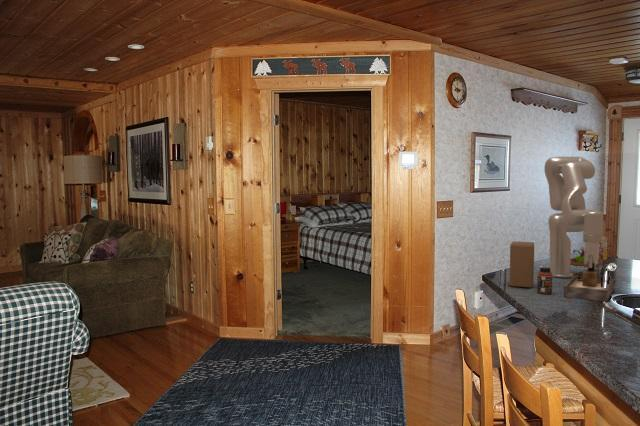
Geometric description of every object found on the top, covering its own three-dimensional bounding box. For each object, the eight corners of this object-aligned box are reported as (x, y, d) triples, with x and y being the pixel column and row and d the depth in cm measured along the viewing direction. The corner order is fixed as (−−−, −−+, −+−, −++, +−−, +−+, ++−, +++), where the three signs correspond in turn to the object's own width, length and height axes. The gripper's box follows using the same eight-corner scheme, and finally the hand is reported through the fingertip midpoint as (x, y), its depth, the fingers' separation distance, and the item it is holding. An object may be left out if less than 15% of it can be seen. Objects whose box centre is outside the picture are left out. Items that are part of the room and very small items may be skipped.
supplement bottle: (545, 295, 212) (546, 268, 212) (533, 292, 218) (534, 266, 217) (555, 293, 215) (555, 267, 214) (543, 290, 220) (543, 265, 220)
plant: (557, 266, 282) (558, 247, 281) (568, 262, 297) (568, 243, 296) (597, 270, 269) (597, 250, 268) (605, 266, 283) (606, 246, 282)
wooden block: (533, 284, 235) (534, 242, 233) (532, 288, 226) (533, 244, 224) (510, 282, 239) (511, 241, 238) (509, 286, 230) (510, 243, 228)
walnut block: (582, 285, 216) (582, 272, 216) (584, 283, 220) (584, 270, 220) (595, 287, 213) (595, 273, 213) (596, 284, 217) (597, 271, 217)
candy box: (588, 261, 298) (588, 235, 297) (592, 260, 300) (593, 235, 299) (602, 263, 290) (603, 237, 289) (607, 262, 292) (608, 236, 291)
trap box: (563, 296, 209) (563, 286, 209) (573, 284, 232) (574, 275, 232) (607, 301, 200) (607, 290, 200) (613, 288, 223) (613, 279, 223)
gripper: (585, 236, 228) (584, 276, 229) (580, 240, 215) (579, 282, 217) (604, 237, 223) (602, 278, 225) (600, 241, 211) (599, 284, 212)
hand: (591, 280), depth 221 cm, fingers closed
